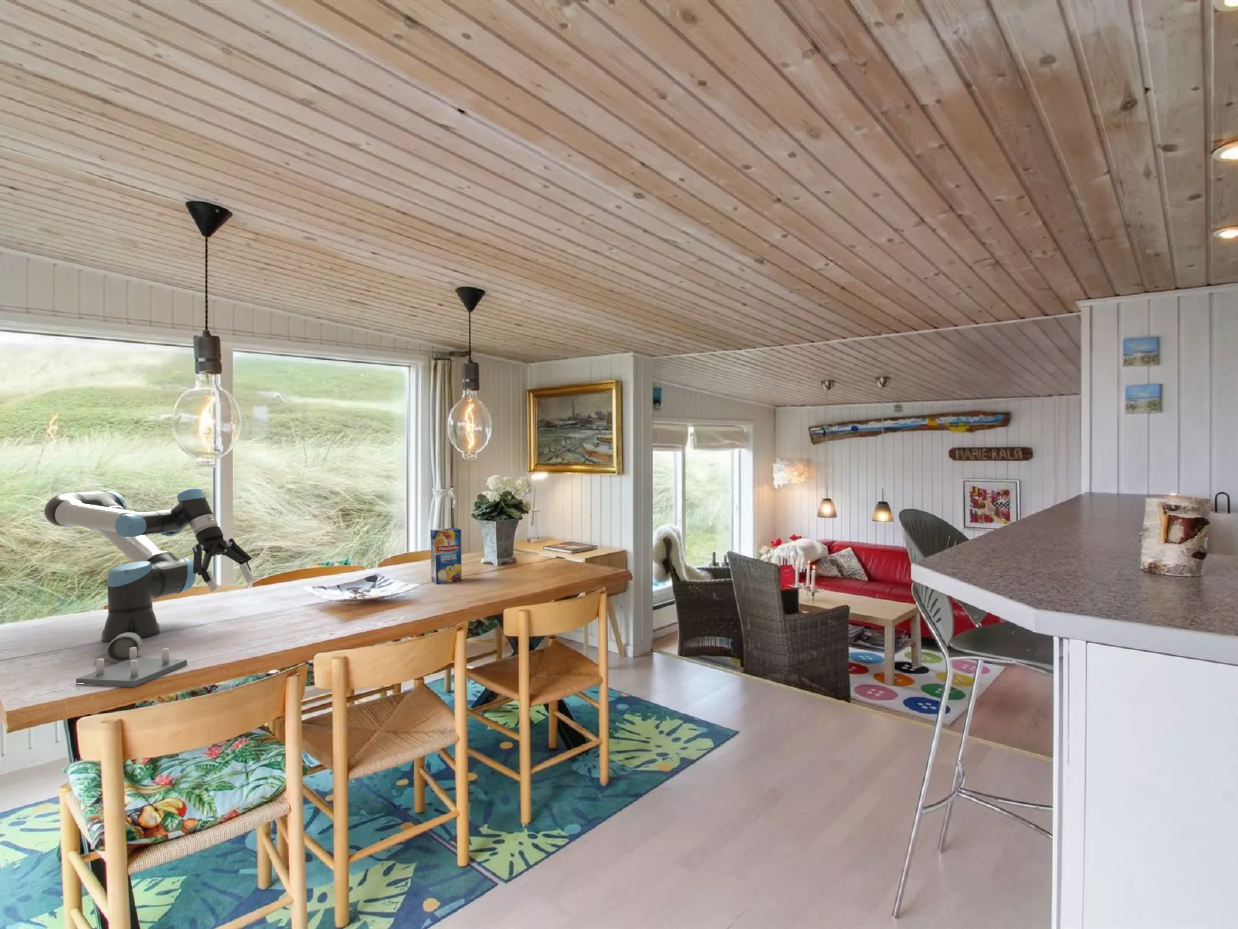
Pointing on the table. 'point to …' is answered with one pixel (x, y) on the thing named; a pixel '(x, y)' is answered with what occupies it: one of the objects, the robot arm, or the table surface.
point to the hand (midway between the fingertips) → (233, 585)
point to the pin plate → (124, 672)
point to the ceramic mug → (121, 647)
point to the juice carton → (446, 555)
